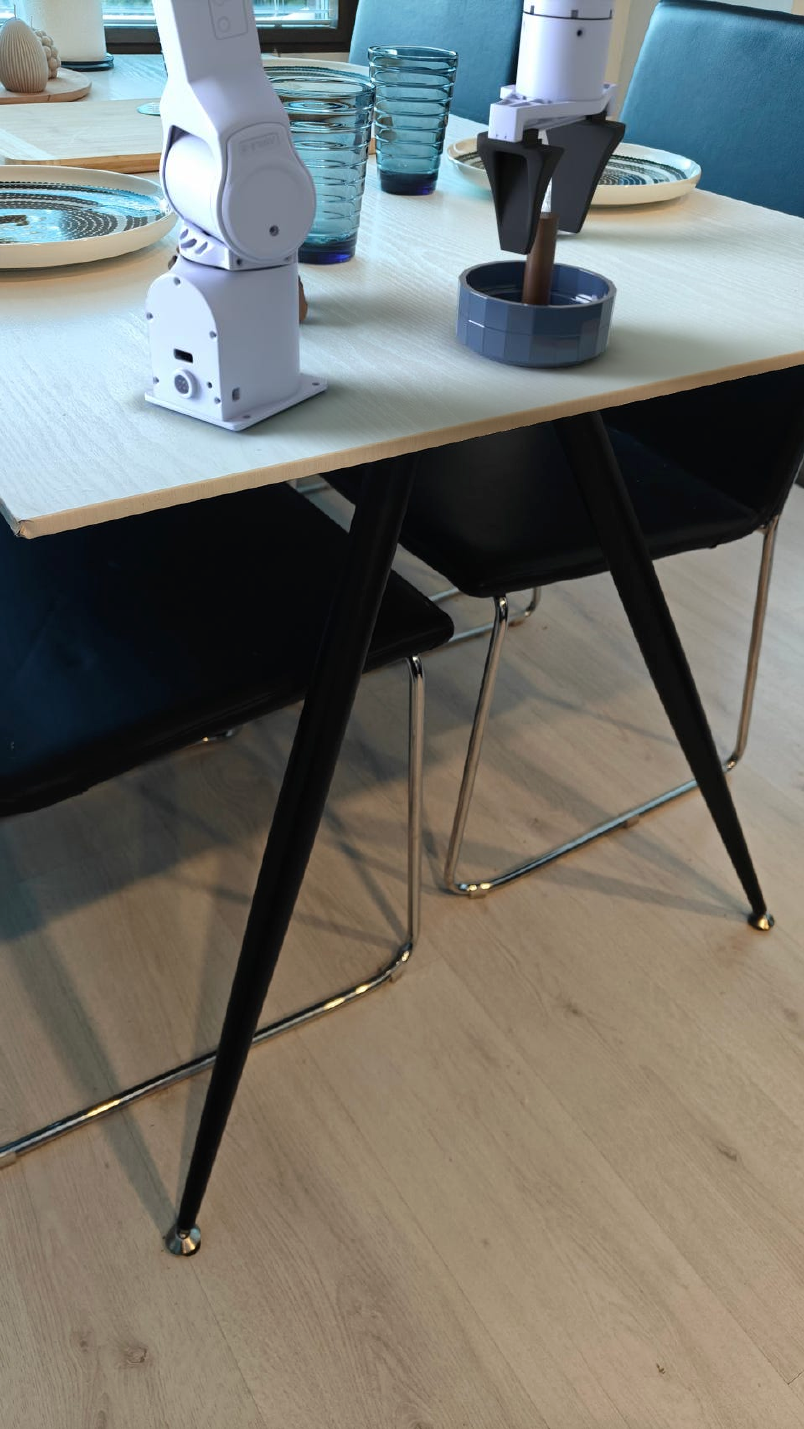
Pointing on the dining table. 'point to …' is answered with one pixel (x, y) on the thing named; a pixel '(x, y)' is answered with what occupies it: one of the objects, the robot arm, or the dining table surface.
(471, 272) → the bowl
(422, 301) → the dining table surface
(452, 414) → the dining table surface
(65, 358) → the dining table surface
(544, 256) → the muddler
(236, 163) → the robot arm
